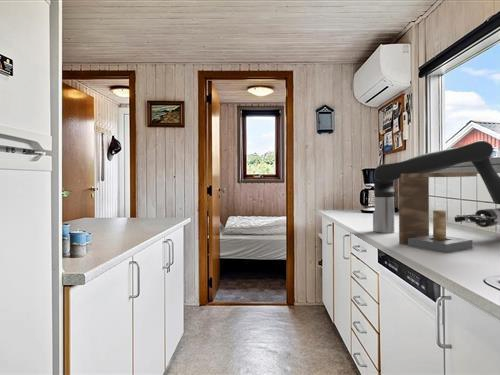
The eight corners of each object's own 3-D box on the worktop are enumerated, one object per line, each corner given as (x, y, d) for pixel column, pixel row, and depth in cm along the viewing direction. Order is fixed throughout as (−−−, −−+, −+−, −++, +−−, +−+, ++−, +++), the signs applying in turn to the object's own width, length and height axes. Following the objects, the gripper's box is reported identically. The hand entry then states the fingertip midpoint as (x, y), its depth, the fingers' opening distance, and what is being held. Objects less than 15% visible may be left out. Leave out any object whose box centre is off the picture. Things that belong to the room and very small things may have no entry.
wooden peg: (430, 246, 147) (430, 210, 146) (437, 245, 149) (437, 210, 148) (441, 248, 143) (441, 211, 142) (448, 247, 145) (448, 210, 145)
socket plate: (408, 245, 149) (408, 238, 149) (433, 241, 157) (433, 234, 157) (446, 252, 135) (446, 244, 135) (472, 247, 143) (472, 240, 143)
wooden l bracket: (399, 243, 154) (398, 173, 153) (424, 240, 162) (424, 173, 161) (450, 252, 135) (450, 172, 134) (476, 248, 142) (476, 172, 142)
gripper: (472, 207, 168) (449, 210, 160) (506, 209, 155) (483, 212, 147) (472, 224, 168) (449, 227, 160) (506, 228, 155) (483, 231, 147)
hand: (465, 220), depth 154 cm, fingers open, 8 cm apart
